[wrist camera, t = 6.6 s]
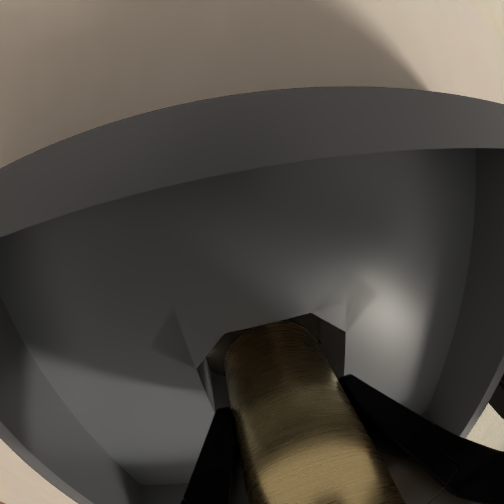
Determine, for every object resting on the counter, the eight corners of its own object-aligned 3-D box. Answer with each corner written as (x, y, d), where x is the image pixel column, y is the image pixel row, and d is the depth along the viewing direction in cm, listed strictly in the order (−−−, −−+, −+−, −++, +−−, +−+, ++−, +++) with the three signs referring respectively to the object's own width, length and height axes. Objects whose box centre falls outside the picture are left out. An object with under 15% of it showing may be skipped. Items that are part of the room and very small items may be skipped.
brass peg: (315, 310, 10) (449, 526, 2) (318, 378, 11) (402, 551, 4) (214, 334, 9) (260, 596, 2) (234, 399, 11) (278, 592, 3)
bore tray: (443, 110, 9) (552, 119, 4) (415, 388, 15) (459, 446, 10) (-8, 195, 8) (-110, 245, 3) (134, 458, 14) (131, 534, 9)
